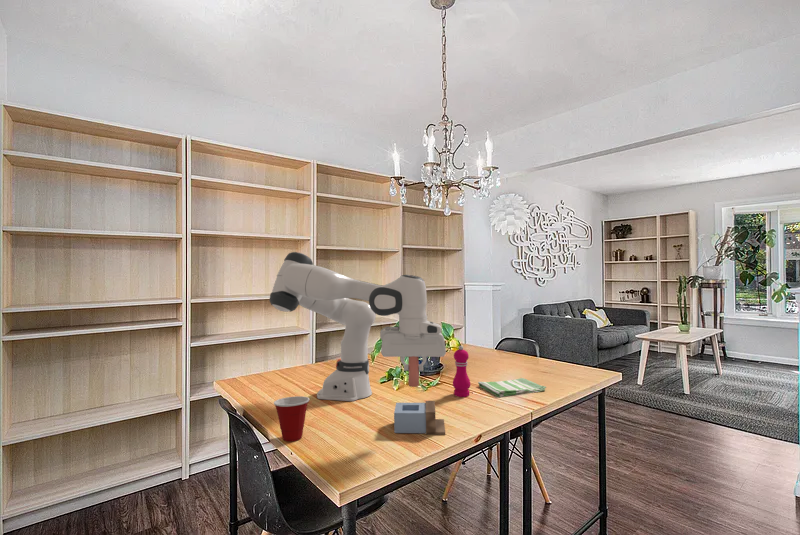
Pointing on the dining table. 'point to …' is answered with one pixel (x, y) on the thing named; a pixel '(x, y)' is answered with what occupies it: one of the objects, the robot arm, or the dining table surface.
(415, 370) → the dowel
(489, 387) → the dish towel
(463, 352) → the pepper mill
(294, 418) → the plastic cup
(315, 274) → the robot arm
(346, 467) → the dining table surface
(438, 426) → the brown l-shaped block
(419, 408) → the blue-grey slotted block
